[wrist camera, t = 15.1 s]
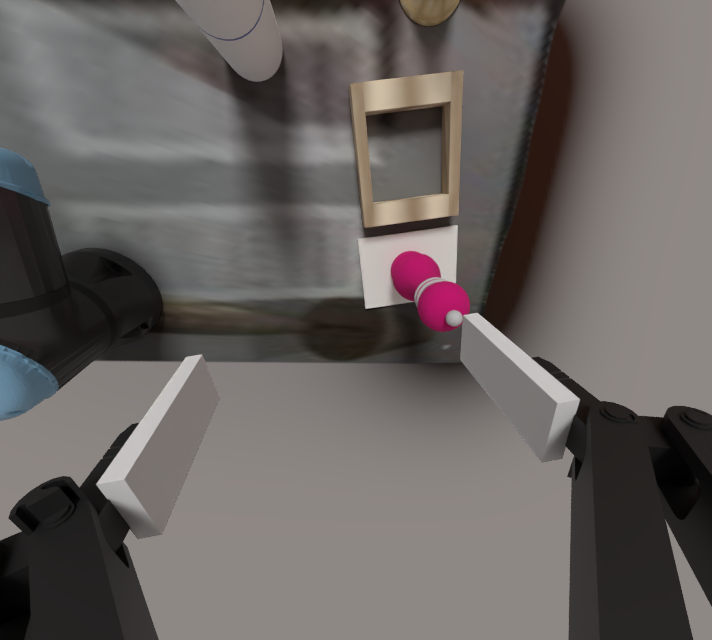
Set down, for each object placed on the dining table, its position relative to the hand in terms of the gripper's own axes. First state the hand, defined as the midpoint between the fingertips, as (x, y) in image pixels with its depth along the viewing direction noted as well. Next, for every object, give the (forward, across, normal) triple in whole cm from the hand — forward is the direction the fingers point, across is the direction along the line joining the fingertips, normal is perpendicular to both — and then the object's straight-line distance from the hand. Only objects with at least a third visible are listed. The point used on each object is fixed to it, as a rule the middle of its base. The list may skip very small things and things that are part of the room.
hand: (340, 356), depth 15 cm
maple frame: (+34, -13, -9) cm, 38 cm away
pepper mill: (+34, -13, +7) cm, 37 cm away
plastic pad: (+34, -13, +7) cm, 38 cm away
